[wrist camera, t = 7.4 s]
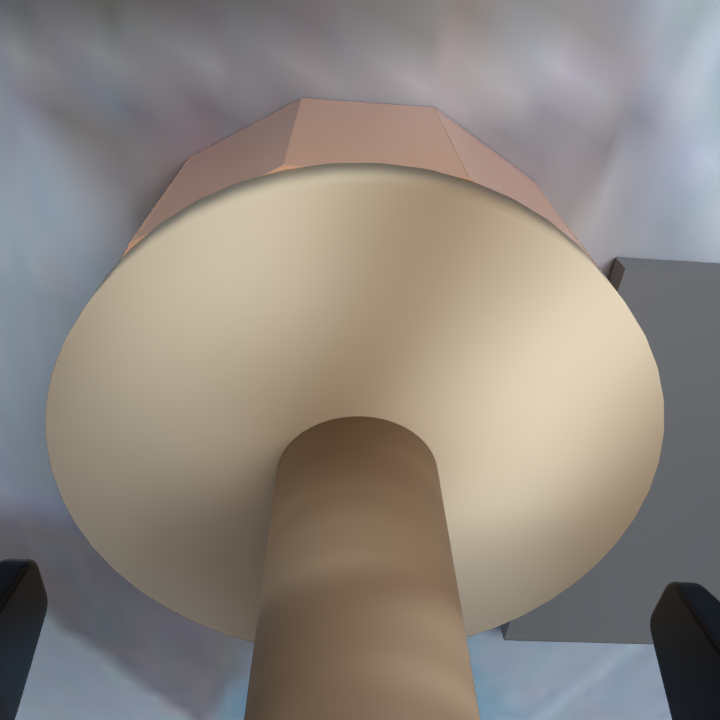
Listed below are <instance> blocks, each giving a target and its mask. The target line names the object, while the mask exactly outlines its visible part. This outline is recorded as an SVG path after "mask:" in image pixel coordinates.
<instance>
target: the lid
mask: <svg viewBox="0 0 720 720" xmlns="http://www.w3.org/2000/svg"><path fill="white" fill-rule="evenodd" d="M663 435H664V398H663V393H662V387H661V382H660V377H659V372H658V367H657V364H656V362H655V359H654V357H653V354H652V351H651V349H650V346H649V344H648V341H647V339H646V336H645V334H644V332H643V331H642V329H641V327H640V326H639V324H638V323H637V321H636V319H635V318H634V316H633V314H632V313H631V311H630V309H629V308H628V306H627V305H626V303H625V302H624V300H623V299H622V298H621V296H620V295H619V294H618V292H617V291H616V290H615V288H614V287H613V286H612V284H611V283H610V282H609V281H608V279H607V278H606V277H605V275H604V274H603V273H602V272H601V270H600V269H599V268H598V267H597V266H596V265H595V264H594V262H593V261H592V260H591V259H590V258H589V257H588V255H587V254H586V253H585V252H584V251H583V250H582V249H581V247H580V246H579V245H578V244H576V243H575V242H574V241H573V240H572V239H570V238H569V237H568V236H567V235H566V234H564V233H563V232H562V231H561V230H560V229H558V228H557V227H556V226H555V225H554V224H552V223H551V222H550V221H549V220H548V219H546V218H544V217H543V216H541V215H539V214H538V213H536V212H534V211H533V210H531V209H529V208H528V207H526V206H524V205H523V204H521V203H519V202H518V201H516V200H514V199H513V198H511V197H508V196H506V195H504V194H501V193H499V192H497V191H494V190H492V189H489V188H487V187H485V186H482V185H480V184H478V183H475V182H473V181H470V180H466V179H463V178H459V177H455V176H451V175H448V174H444V173H440V172H437V171H433V170H429V169H424V168H416V167H408V166H401V165H393V164H385V163H328V164H321V165H314V166H306V167H299V168H292V169H285V170H281V171H277V172H274V173H270V174H266V175H263V176H259V177H255V178H252V179H248V180H245V181H241V182H238V183H236V184H234V185H231V186H229V187H227V188H224V189H222V190H220V191H217V192H215V193H213V194H210V195H208V196H206V197H203V198H201V199H199V200H197V201H195V202H194V203H192V204H191V205H189V206H187V207H186V208H184V209H182V210H181V211H179V212H177V213H176V214H174V215H173V216H171V217H169V218H168V219H166V220H164V221H163V222H161V223H160V224H159V225H158V226H157V227H155V228H154V229H153V230H152V231H151V232H149V233H148V234H147V235H146V236H145V237H144V238H142V239H141V240H140V241H139V242H138V243H136V244H135V245H134V246H133V247H132V248H131V249H130V250H129V251H128V252H127V253H126V254H125V256H124V257H123V258H122V259H121V260H120V261H119V262H118V264H117V265H116V266H115V267H114V268H113V269H112V271H111V272H110V273H109V274H108V275H107V276H106V278H105V279H104V280H103V282H102V283H101V285H100V286H99V288H98V289H97V290H96V292H95V293H94V295H93V296H92V298H91V299H90V300H89V302H88V303H87V305H86V306H85V308H84V309H83V311H82V312H81V314H80V316H79V317H78V319H77V321H76V322H75V324H74V326H73V327H72V329H71V331H70V332H69V334H68V336H67V337H66V339H65V341H64V343H63V346H62V348H61V351H60V354H59V356H58V359H57V361H56V364H55V367H54V369H53V372H52V376H51V381H50V387H49V392H48V397H47V402H46V442H47V448H48V454H49V459H50V465H51V470H52V472H53V475H54V478H55V481H56V484H57V487H58V489H59V492H60V495H61V498H62V500H63V501H64V503H65V505H66V507H67V509H68V511H69V513H70V514H71V516H72V518H73V520H74V522H75V524H76V525H77V526H78V528H79V529H80V530H81V532H82V533H83V535H84V536H85V537H86V539H87V540H88V541H89V543H90V544H91V545H92V547H93V548H94V549H95V550H96V551H97V552H98V553H99V554H100V555H101V556H102V557H103V559H104V560H105V561H106V562H107V563H108V564H109V565H110V566H111V567H112V568H113V569H114V570H115V571H116V572H118V573H119V574H120V575H121V576H122V577H124V578H125V579H126V580H127V581H129V582H130V583H131V584H132V585H133V586H135V587H136V588H137V589H138V590H140V591H141V592H143V593H144V594H146V595H147V596H149V597H150V598H152V599H154V600H155V601H157V602H158V603H160V604H161V605H163V606H164V607H166V608H168V609H170V610H172V611H174V612H176V613H178V614H180V615H182V616H183V617H185V618H187V619H189V620H191V621H194V622H196V623H199V624H201V625H203V626H206V627H208V628H211V629H213V630H216V631H218V632H221V633H224V634H227V635H230V636H234V637H237V638H240V639H243V640H247V641H250V642H254V648H253V656H252V664H251V672H250V679H249V687H248V695H247V702H246V710H245V718H244V720H480V716H479V710H478V704H477V698H476V692H475V687H474V681H473V675H472V669H471V663H470V657H469V651H468V645H467V640H466V638H467V637H470V636H473V635H476V634H479V633H481V632H484V631H487V630H490V629H493V628H496V627H498V626H500V625H502V624H505V623H507V622H509V621H511V620H514V619H516V618H518V617H521V616H523V615H525V614H526V613H528V612H530V611H532V610H534V609H535V608H537V607H539V606H541V605H543V604H544V603H546V602H548V601H550V600H551V599H553V598H554V597H555V596H557V595H558V594H560V593H561V592H563V591H564V590H566V589H567V588H568V587H570V586H571V585H573V584H574V583H575V582H577V581H578V580H579V579H580V578H581V577H582V576H584V575H585V574H586V573H587V572H588V571H589V570H591V569H592V568H593V567H594V566H595V565H596V564H597V563H598V562H599V561H600V560H601V559H602V558H603V557H604V556H605V555H606V554H607V553H608V552H609V550H610V549H611V548H612V547H613V546H614V545H615V544H616V543H617V542H618V541H619V539H620V538H621V536H622V535H623V534H624V532H625V531H626V529H627V528H628V527H629V525H630V524H631V522H632V521H633V519H634V518H635V517H636V515H637V513H638V511H639V509H640V507H641V505H642V503H643V501H644V499H645V497H646V495H647V494H648V492H649V489H650V487H651V484H652V481H653V478H654V475H655V472H656V469H657V466H658V463H659V459H660V453H661V447H662V441H663Z"/></svg>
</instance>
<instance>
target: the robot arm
mask: <svg viewBox="0 0 720 720" xmlns="http://www.w3.org/2000/svg"><path fill="white" fill-rule="evenodd" d="M46 610H47V594H46V591H45V588H44V584H43V581H42V578H41V574H40V571H39V568H38V565H37V563H36V562H35V561H33V560H30V559H5V560H2V561H1V562H0V720H15V717H16V714H17V711H18V708H19V704H20V701H21V698H22V694H23V691H24V687H25V684H26V680H27V677H28V673H29V670H30V667H31V663H32V660H33V656H34V653H35V649H36V646H37V642H38V639H39V636H40V632H41V629H42V625H43V622H44V618H45V615H46ZM650 631H651V636H652V640H653V644H654V648H655V652H656V656H657V660H658V664H659V668H660V672H661V676H662V680H663V684H664V688H665V692H666V697H667V701H668V705H669V709H670V713H671V717H672V720H720V601H719V600H718V599H717V598H716V597H715V596H713V595H712V594H711V593H710V592H709V591H708V590H707V589H706V588H704V587H703V586H701V585H700V584H698V583H693V582H671V583H669V584H668V585H667V586H666V587H665V589H664V591H663V593H662V595H661V597H660V599H659V601H658V603H657V604H656V606H655V608H654V610H653V612H652V615H651V619H650Z"/></svg>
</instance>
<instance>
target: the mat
mask: <svg viewBox="0 0 720 720" xmlns="http://www.w3.org/2000/svg"><path fill="white" fill-rule="evenodd" d="M609 282H610V283H611V284H612V286H613V287H614V288H615V290H616V291H617V292H618V294H619V295H620V296H621V298H622V299H623V300H624V302H625V303H626V305H627V306H628V308H629V309H630V311H631V313H632V314H633V316H634V318H635V319H636V321H637V323H638V324H639V326H640V327H641V329H642V331H643V332H644V334H645V336H646V339H647V341H648V344H649V346H650V349H651V351H652V354H653V357H654V359H655V362H656V364H657V367H658V372H659V377H660V382H661V387H662V393H663V398H664V435H663V441H662V447H661V453H660V459H659V463H658V466H657V469H656V472H655V475H654V478H653V481H652V484H651V487H650V489H649V492H648V494H647V495H646V497H645V499H644V501H643V503H642V505H641V507H640V509H639V511H638V513H637V515H636V517H635V518H634V519H633V521H632V522H631V524H630V525H629V527H628V528H627V529H626V531H625V532H624V534H623V535H622V536H621V538H620V539H619V541H618V542H617V543H616V544H615V545H614V546H613V547H612V548H611V549H610V550H609V552H608V553H607V554H606V555H605V556H604V557H603V558H602V559H601V560H600V561H599V562H598V563H597V564H596V565H595V566H594V567H593V568H592V569H591V570H589V571H588V572H587V573H586V574H585V575H584V576H582V577H581V578H580V579H579V580H578V581H577V582H575V583H574V584H573V585H571V586H570V587H568V588H567V589H566V590H564V591H563V592H561V593H560V594H558V595H557V596H555V597H554V598H553V599H551V600H550V601H548V602H546V603H544V604H543V605H541V606H539V607H537V608H535V609H534V610H532V611H530V612H528V613H526V614H525V615H523V616H521V617H518V618H516V619H514V620H511V621H509V622H507V623H505V624H502V625H501V629H502V633H503V638H504V640H515V641H552V642H588V643H624V644H653V640H652V636H651V631H650V619H651V615H652V612H653V610H654V608H655V606H656V604H657V603H658V601H659V599H660V597H661V595H662V593H663V591H664V589H665V587H666V586H667V585H668V584H669V583H671V582H693V583H698V584H700V585H701V586H703V587H704V588H706V589H707V590H708V591H709V592H710V593H711V594H712V595H713V596H715V597H716V598H717V599H718V600H719V601H720V264H718V263H701V262H685V261H668V260H652V259H635V258H619V257H616V259H615V262H614V265H613V268H612V272H611V275H610V278H609Z"/></svg>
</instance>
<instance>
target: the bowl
mask: <svg viewBox="0 0 720 720" xmlns="http://www.w3.org/2000/svg"><path fill="white" fill-rule="evenodd" d="M328 163H385V164H393V165H401V166H408V167H416V168H424V169H429V170H433V171H437V172H440V173H444V174H448V175H451V176H455V177H459V178H463V179H466V180H470V181H473V182H475V183H478V184H480V185H482V186H485V187H487V188H489V189H492V190H494V191H497V192H499V193H501V194H504V195H506V196H508V197H511V198H513V199H514V200H516V201H518V202H519V203H521V204H523V205H524V206H526V207H528V208H529V209H531V210H533V211H534V212H536V213H538V214H539V215H541V216H543V217H544V218H546V219H548V220H549V221H550V222H551V223H552V224H554V225H555V226H556V227H557V228H558V229H560V230H561V231H562V232H563V233H564V234H566V235H567V236H568V237H569V238H570V239H572V240H573V241H574V242H575V243H576V244H578V245H579V246H580V247H581V249H582V250H583V251H584V252H585V253H586V254H587V255H588V257H589V258H590V259H591V260H592V261H593V259H592V258H591V257H590V255H589V254H588V253H587V252H586V250H585V249H584V248H583V246H582V245H581V244H580V242H579V241H578V240H577V238H576V237H575V236H574V234H573V233H572V232H571V230H570V229H569V228H568V226H567V225H566V224H565V222H564V221H563V220H562V218H561V217H560V216H559V214H558V213H557V212H556V210H555V209H554V208H553V206H552V205H551V204H550V202H549V201H548V200H547V198H546V197H545V196H544V195H543V193H542V192H541V191H540V189H539V188H538V187H537V185H536V184H535V183H534V181H533V180H532V179H530V178H529V177H528V176H526V175H525V174H524V173H522V172H521V171H519V170H518V169H517V168H515V167H514V166H513V165H511V164H510V163H509V162H507V161H506V160H505V159H503V158H502V157H501V156H499V155H498V154H497V153H495V152H494V151H492V150H491V149H490V148H488V147H487V146H486V145H484V144H483V143H482V142H480V141H479V140H478V139H476V138H475V137H474V136H472V135H471V134H470V133H468V132H467V131H465V130H464V129H463V128H461V127H460V126H459V125H457V124H456V123H455V122H453V121H452V120H451V119H449V118H448V117H447V116H445V115H444V114H443V113H441V112H440V111H438V110H437V109H436V108H435V107H421V106H407V105H393V104H380V103H366V102H352V101H338V100H324V99H311V98H301V99H299V100H297V101H295V102H293V103H291V104H289V105H287V106H286V107H284V108H282V109H280V110H278V111H276V112H274V113H272V114H270V115H269V116H267V117H265V118H263V119H261V120H259V121H257V122H255V123H253V124H252V125H250V126H248V127H246V128H244V129H242V130H240V131H238V132H236V133H235V134H233V135H231V136H229V137H227V138H225V139H223V140H221V141H219V142H217V143H216V144H214V145H212V146H210V147H208V148H206V149H204V150H202V151H200V152H199V153H197V154H195V155H193V156H191V157H189V158H188V160H187V161H186V163H185V164H184V166H183V167H182V168H181V170H180V171H179V173H178V174H177V176H176V177H175V178H174V180H173V181H172V183H171V184H170V185H169V187H168V188H167V190H166V191H165V193H164V194H163V195H162V197H161V198H160V200H159V201H158V203H157V204H156V205H155V207H154V208H153V210H152V211H151V212H150V214H149V215H148V217H147V218H146V220H145V221H144V222H143V224H142V225H141V227H140V228H139V230H138V231H137V232H136V234H135V235H134V237H133V238H132V240H131V241H130V242H129V245H128V247H127V249H126V251H125V253H124V254H123V256H122V258H123V257H124V256H125V254H126V253H127V252H128V251H129V250H130V249H131V248H132V247H133V246H134V245H135V244H136V243H138V242H139V241H140V240H141V239H142V238H144V237H145V236H146V235H147V234H148V233H149V232H151V231H152V230H153V229H154V228H155V227H157V226H158V225H159V224H160V223H161V222H163V221H164V220H166V219H168V218H169V217H171V216H173V215H174V214H176V213H177V212H179V211H181V210H182V209H184V208H186V207H187V206H189V205H191V204H192V203H194V202H195V201H197V200H199V199H201V198H203V197H206V196H208V195H210V194H213V193H215V192H217V191H220V190H222V189H224V188H227V187H229V186H231V185H234V184H236V183H238V182H241V181H245V180H248V179H252V178H255V177H259V176H263V175H266V174H270V173H274V172H277V171H281V170H285V169H292V168H299V167H306V166H314V165H321V164H328ZM122 258H121V259H122ZM593 262H594V261H593ZM594 264H595V265H596V263H595V262H594ZM596 266H597V265H596ZM597 267H598V266H597ZM598 268H599V267H598Z"/></svg>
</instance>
